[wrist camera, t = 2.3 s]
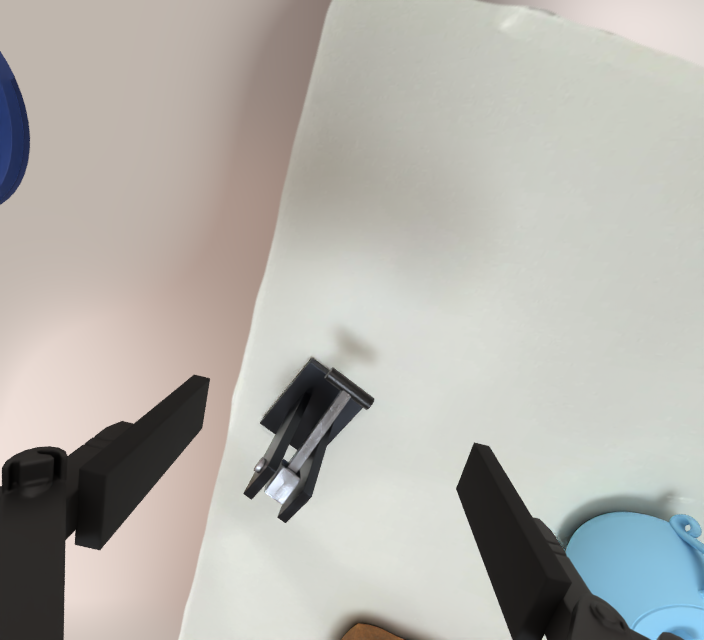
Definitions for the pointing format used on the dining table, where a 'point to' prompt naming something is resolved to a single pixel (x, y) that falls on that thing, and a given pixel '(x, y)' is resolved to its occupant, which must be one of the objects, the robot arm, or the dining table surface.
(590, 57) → the dining table surface
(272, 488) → the lever
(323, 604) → the dining table surface
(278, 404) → the bracket
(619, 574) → the teapot
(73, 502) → the robot arm
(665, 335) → the dining table surface
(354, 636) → the bread
